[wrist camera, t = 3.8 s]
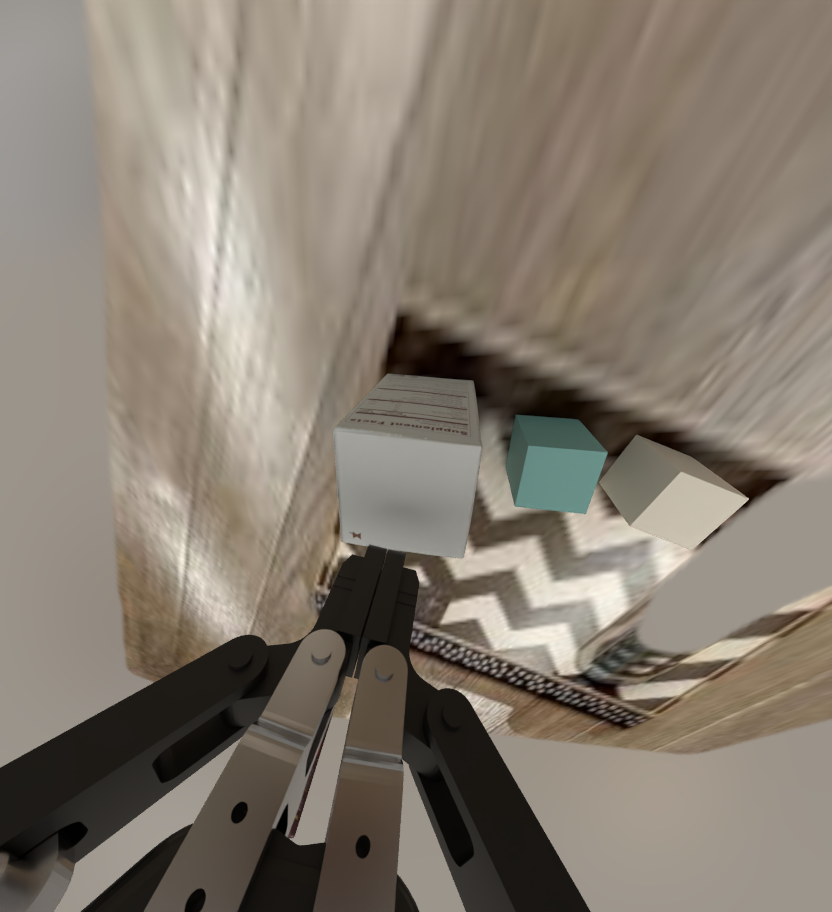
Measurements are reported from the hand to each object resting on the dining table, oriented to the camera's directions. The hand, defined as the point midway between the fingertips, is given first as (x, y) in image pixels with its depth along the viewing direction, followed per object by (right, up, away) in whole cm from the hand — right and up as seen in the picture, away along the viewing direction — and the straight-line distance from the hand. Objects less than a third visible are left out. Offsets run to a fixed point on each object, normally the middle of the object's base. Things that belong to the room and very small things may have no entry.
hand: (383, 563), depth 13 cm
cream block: (+21, +3, +14) cm, 25 cm away
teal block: (+12, +5, +15) cm, 20 cm away
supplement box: (+2, +8, +15) cm, 17 cm away
